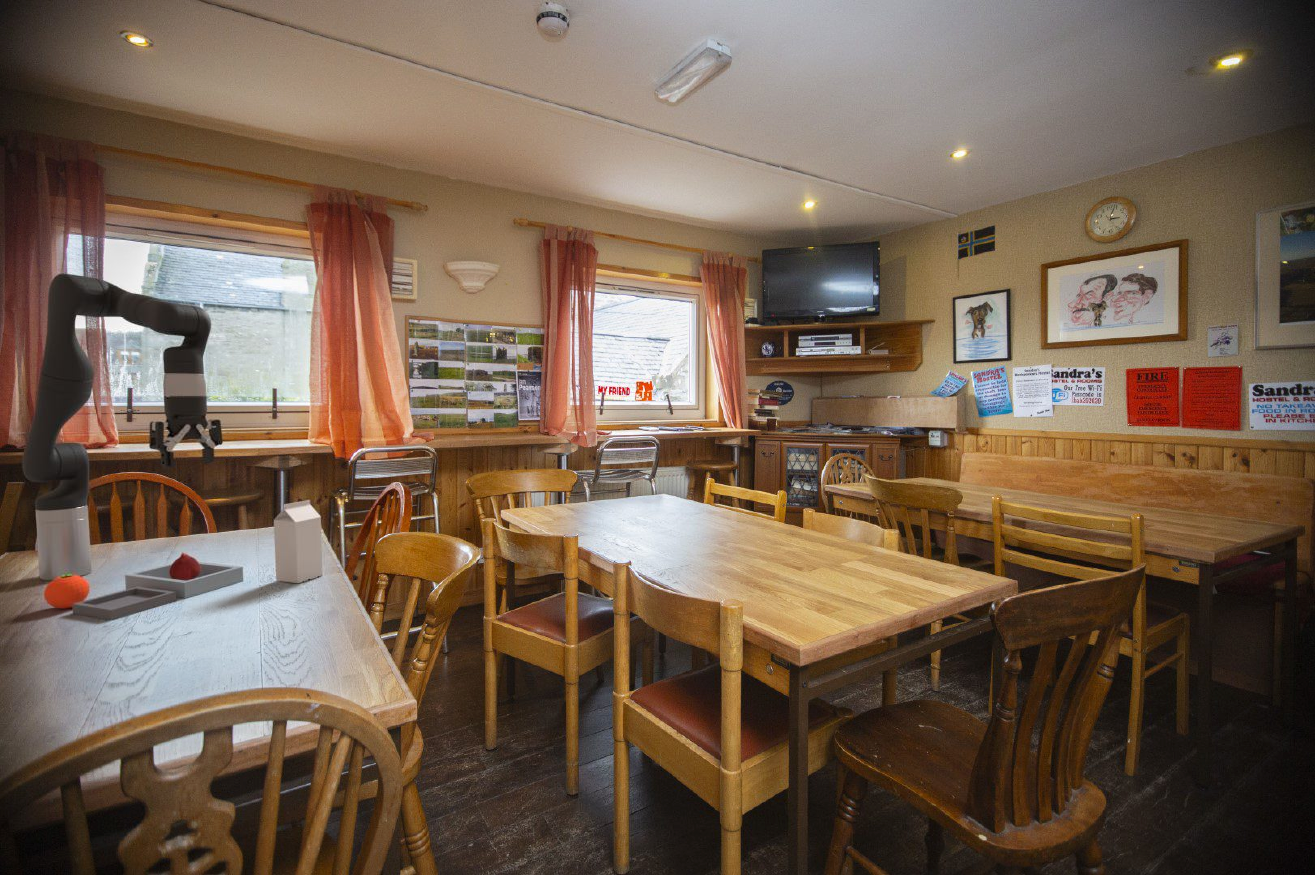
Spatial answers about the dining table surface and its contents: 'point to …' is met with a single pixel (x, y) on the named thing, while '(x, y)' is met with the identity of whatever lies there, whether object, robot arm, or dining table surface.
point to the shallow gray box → (208, 580)
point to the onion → (185, 568)
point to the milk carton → (298, 543)
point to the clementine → (66, 591)
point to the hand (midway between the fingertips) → (188, 466)
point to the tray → (123, 603)
